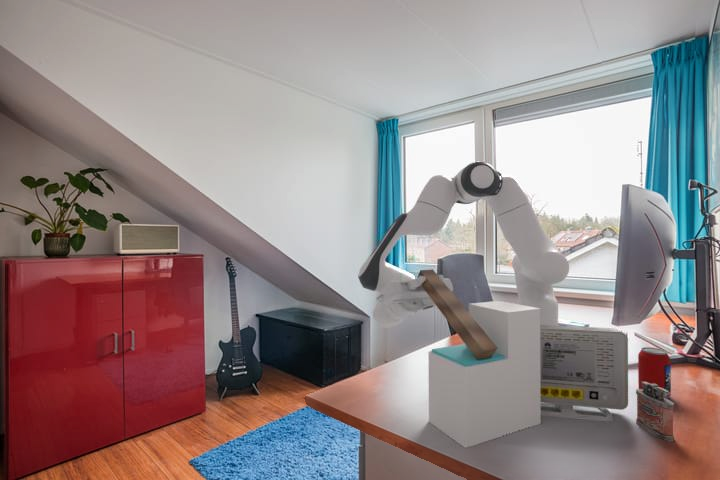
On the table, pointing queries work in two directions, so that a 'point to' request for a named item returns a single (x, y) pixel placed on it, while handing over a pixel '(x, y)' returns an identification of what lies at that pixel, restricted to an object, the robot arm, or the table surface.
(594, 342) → the network device
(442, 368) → the stepped stand
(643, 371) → the beverage can
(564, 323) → the light bulb box
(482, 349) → the walnut block
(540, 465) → the table surface
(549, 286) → the robot arm
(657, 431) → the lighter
